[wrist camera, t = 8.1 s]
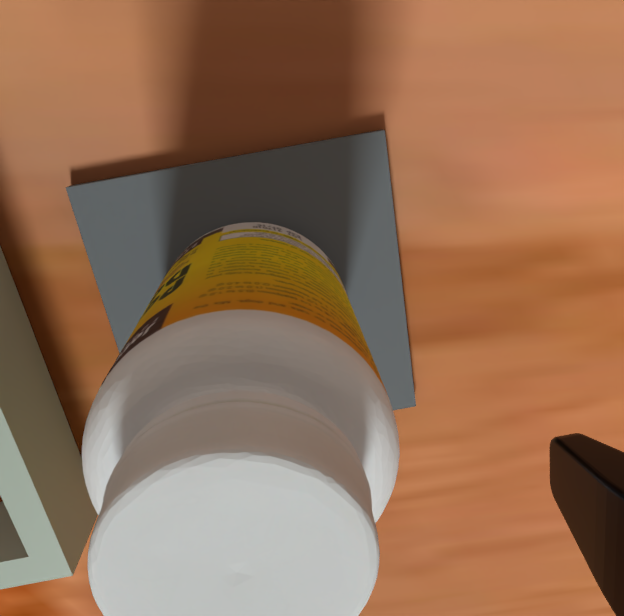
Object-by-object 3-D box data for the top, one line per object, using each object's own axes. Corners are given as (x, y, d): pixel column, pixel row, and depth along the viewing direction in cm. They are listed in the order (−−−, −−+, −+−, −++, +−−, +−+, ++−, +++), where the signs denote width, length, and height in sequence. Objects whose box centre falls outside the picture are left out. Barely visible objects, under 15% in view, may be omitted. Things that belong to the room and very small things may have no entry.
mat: (413, 400, 19) (415, 406, 19) (155, 447, 19) (152, 455, 18) (381, 129, 16) (384, 130, 15) (70, 185, 16) (65, 187, 15)
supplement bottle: (187, 191, 16) (61, 336, 6) (370, 250, 17) (511, 452, 7) (143, 362, 17) (-10, 686, 8) (310, 406, 18) (358, 739, 9)
